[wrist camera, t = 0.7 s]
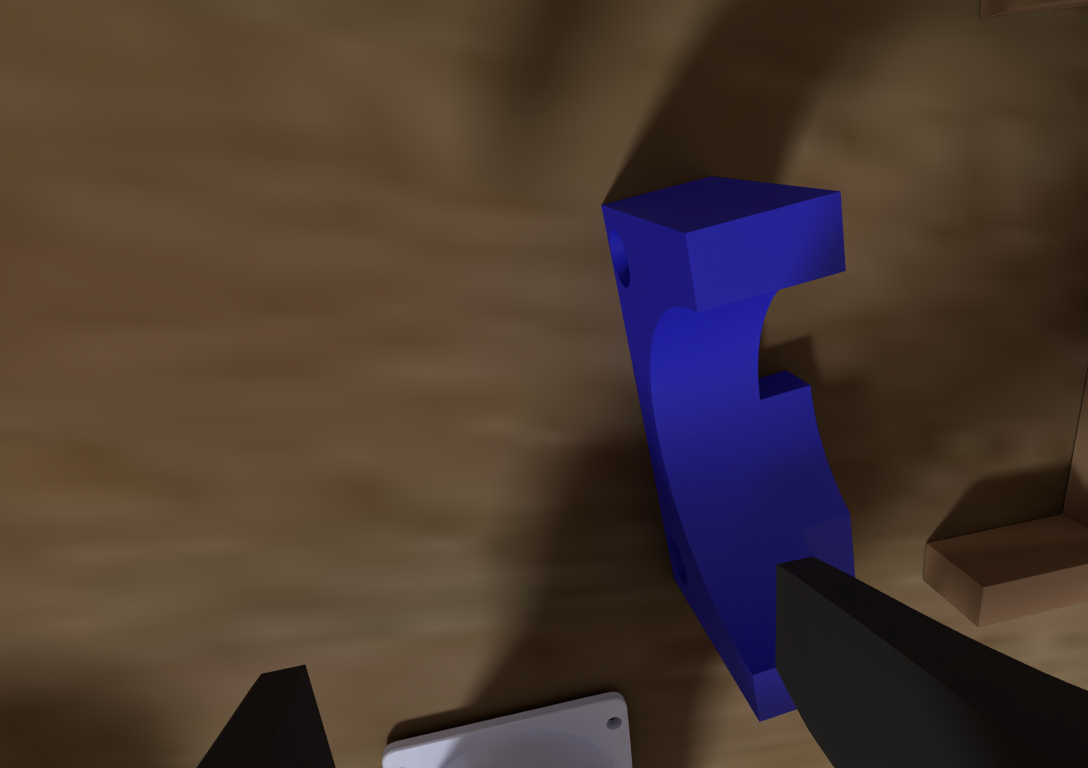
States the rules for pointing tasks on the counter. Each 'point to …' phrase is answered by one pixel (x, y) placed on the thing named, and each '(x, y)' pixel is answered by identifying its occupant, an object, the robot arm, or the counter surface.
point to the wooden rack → (1030, 547)
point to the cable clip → (730, 401)
